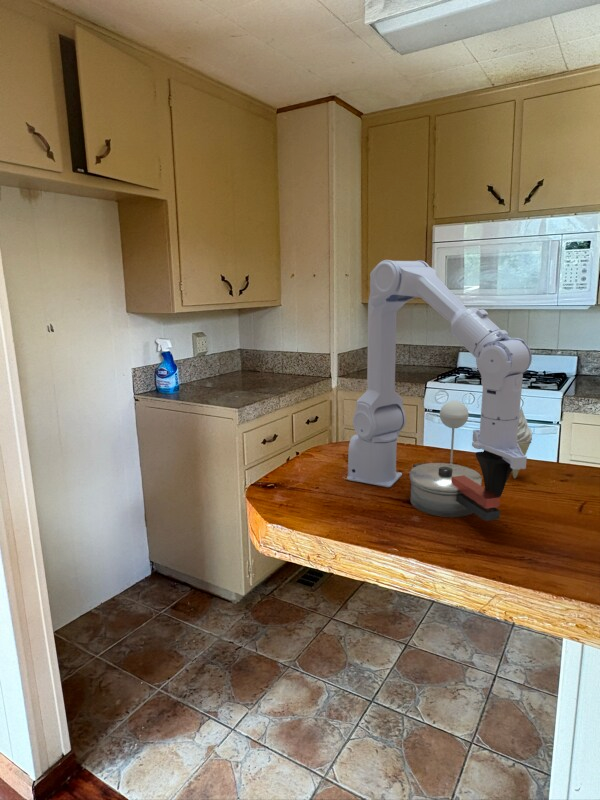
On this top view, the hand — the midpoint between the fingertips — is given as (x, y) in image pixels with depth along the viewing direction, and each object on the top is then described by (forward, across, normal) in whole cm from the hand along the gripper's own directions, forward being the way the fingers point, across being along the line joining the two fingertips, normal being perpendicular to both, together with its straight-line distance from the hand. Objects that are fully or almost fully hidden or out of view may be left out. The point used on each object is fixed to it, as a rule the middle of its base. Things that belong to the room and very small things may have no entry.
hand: (493, 495), depth 87 cm
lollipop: (+6, -27, +4) cm, 28 cm away
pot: (+5, -8, -4) cm, 10 cm away
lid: (+1, -6, -4) cm, 7 cm away
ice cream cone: (+6, -20, +14) cm, 25 cm away
